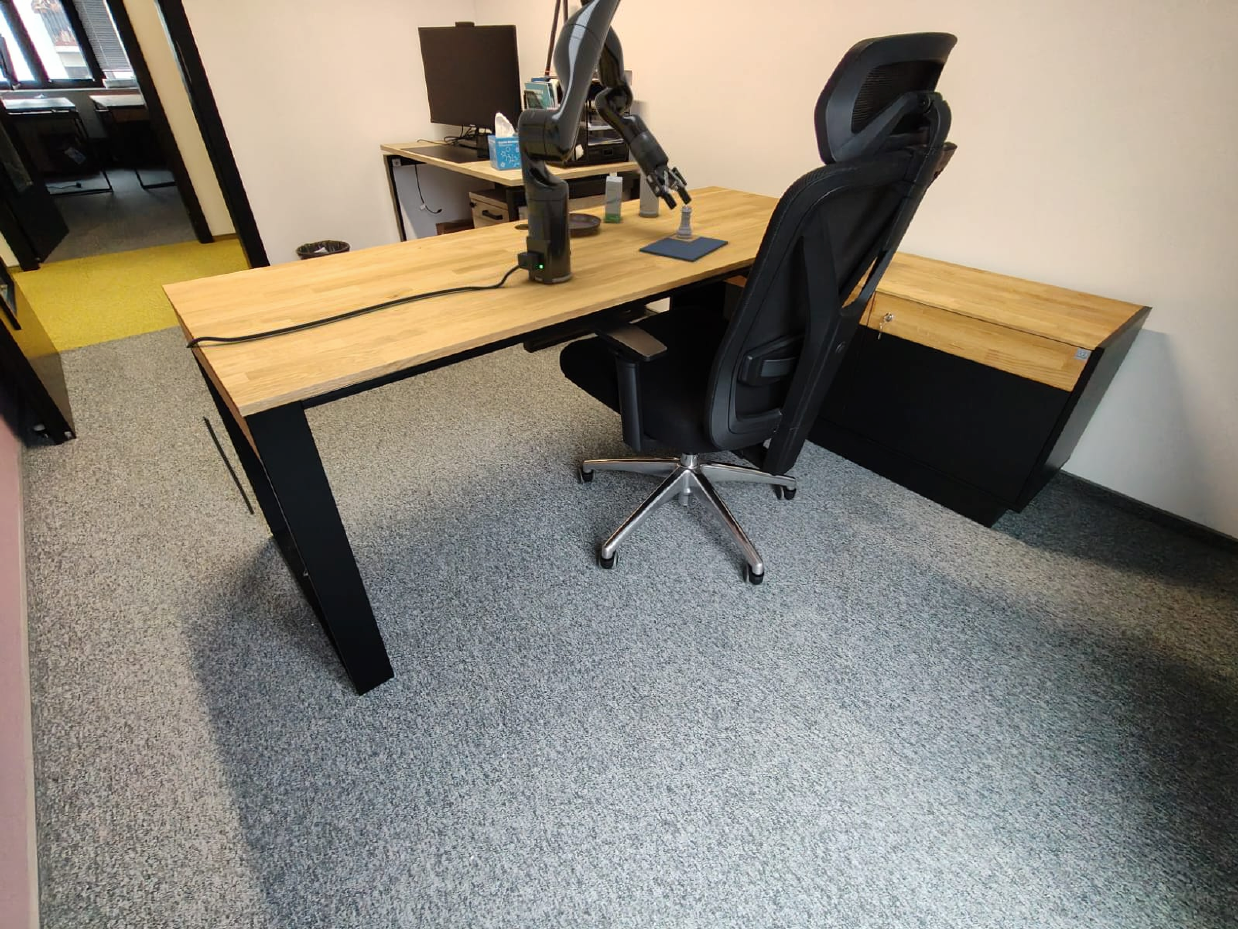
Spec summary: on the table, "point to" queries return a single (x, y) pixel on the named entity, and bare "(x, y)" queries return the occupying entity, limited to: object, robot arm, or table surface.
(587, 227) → the plant saucer
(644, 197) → the travel mug
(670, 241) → the desk mat
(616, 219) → the ink box
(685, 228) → the rook chess piece
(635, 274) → the table surface
